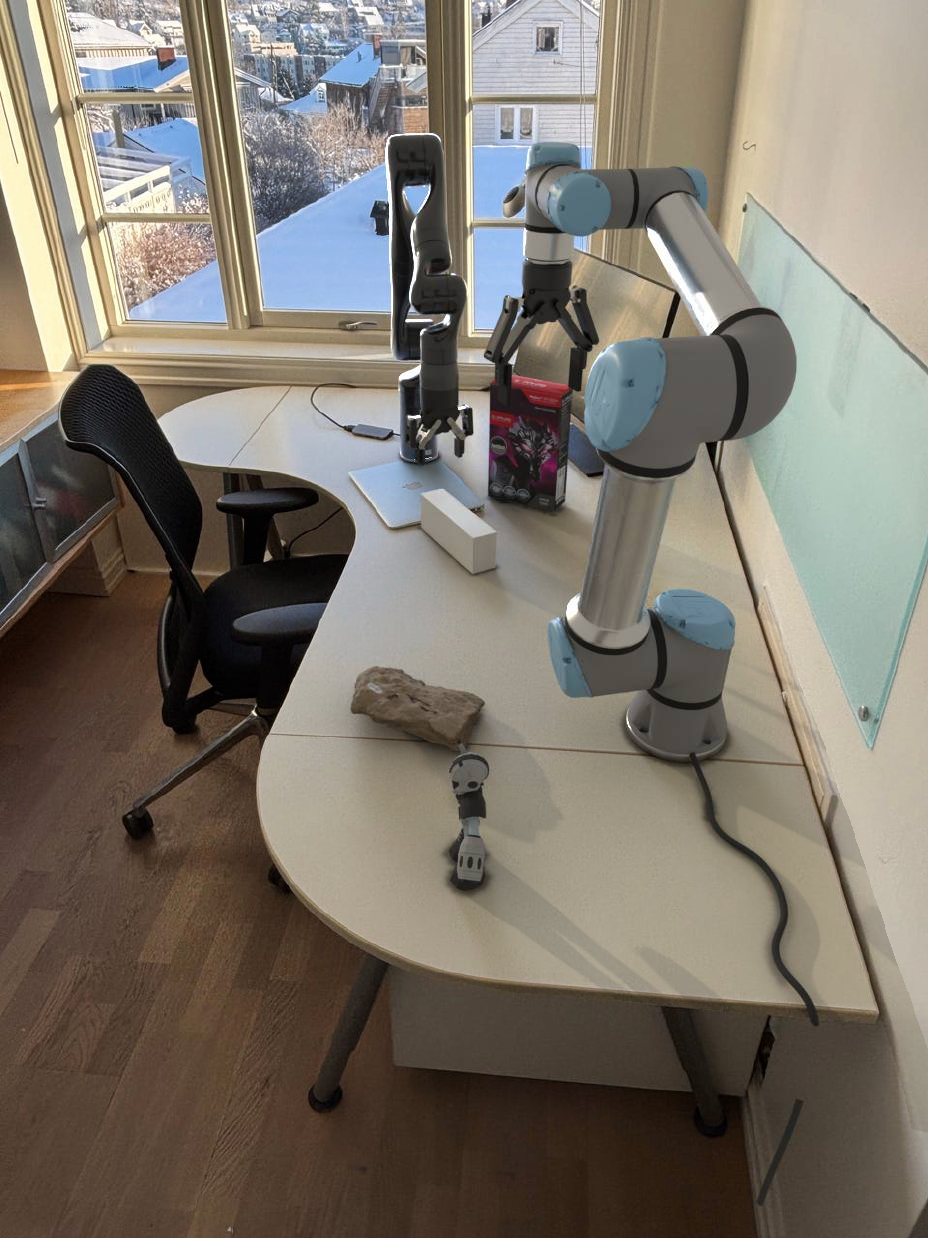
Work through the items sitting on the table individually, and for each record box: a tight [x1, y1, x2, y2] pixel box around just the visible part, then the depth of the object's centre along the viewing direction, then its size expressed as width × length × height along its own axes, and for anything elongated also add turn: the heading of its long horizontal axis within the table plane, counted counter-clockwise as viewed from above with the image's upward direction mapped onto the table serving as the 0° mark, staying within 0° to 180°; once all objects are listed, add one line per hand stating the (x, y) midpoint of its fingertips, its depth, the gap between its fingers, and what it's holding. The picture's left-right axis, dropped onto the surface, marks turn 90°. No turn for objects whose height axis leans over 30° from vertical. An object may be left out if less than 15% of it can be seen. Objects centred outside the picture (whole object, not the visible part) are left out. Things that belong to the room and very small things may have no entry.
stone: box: [349, 665, 486, 752], centre depth 143 cm, size 21×15×6 cm
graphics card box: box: [487, 374, 574, 513], centre depth 201 cm, size 17×7×27 cm, turn 62°
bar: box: [420, 487, 498, 575], centre depth 188 cm, size 22×5×8 cm, turn 30°
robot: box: [448, 739, 490, 891], centre depth 115 cm, size 20×5×20 cm, turn 3°
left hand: (439, 460), depth 187 cm, fingers open, 8 cm apart
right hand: (540, 396), depth 150 cm, fingers open, 13 cm apart
